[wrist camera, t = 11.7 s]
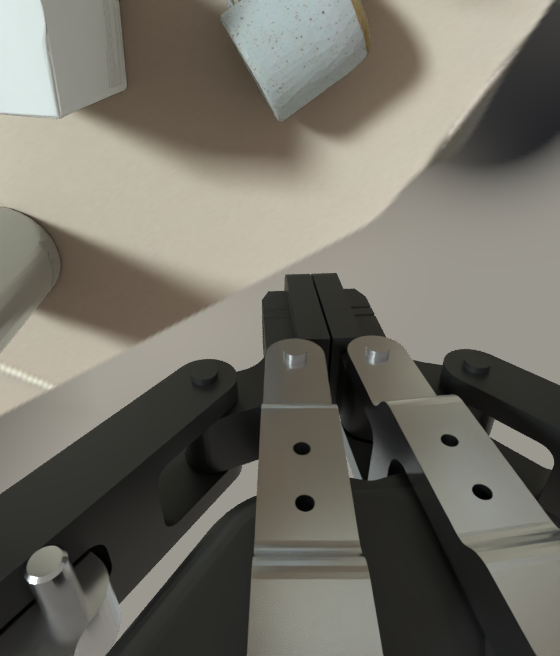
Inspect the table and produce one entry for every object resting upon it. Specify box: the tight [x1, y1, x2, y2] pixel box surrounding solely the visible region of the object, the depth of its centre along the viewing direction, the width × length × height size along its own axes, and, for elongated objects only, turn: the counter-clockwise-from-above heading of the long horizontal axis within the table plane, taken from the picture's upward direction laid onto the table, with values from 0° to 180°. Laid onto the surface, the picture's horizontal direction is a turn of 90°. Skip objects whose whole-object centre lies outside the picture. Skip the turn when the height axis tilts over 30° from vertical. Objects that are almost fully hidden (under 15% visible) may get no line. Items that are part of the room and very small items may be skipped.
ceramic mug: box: [220, 0, 371, 122], centre depth 30 cm, size 11×8×8 cm
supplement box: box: [0, 0, 127, 119], centre depth 27 cm, size 9×9×15 cm
